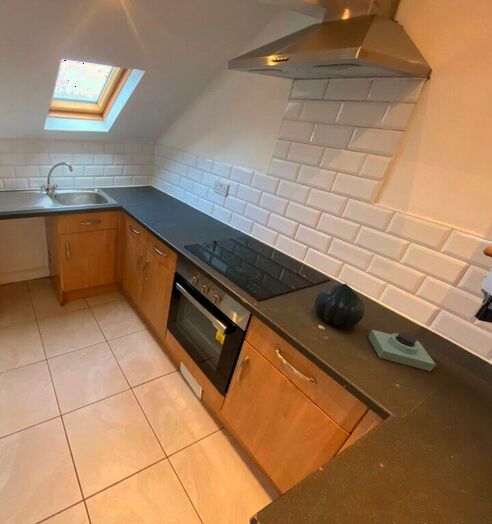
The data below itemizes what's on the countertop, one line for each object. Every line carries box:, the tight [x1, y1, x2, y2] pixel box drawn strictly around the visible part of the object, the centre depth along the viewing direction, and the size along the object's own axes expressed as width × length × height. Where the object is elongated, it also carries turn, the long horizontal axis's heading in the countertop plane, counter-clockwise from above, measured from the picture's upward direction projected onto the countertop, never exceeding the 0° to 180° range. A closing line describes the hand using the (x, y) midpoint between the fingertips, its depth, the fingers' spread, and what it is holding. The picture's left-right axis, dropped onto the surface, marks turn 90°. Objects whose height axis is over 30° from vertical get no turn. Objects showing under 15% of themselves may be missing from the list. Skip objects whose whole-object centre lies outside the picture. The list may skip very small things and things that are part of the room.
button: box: [396, 332, 417, 347], centre depth 95 cm, size 4×4×2 cm
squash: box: [314, 283, 366, 330], centre depth 108 cm, size 14×15×15 cm
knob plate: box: [367, 329, 437, 372], centre depth 97 cm, size 14×11×5 cm
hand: (483, 319), depth 80 cm, fingers closed
